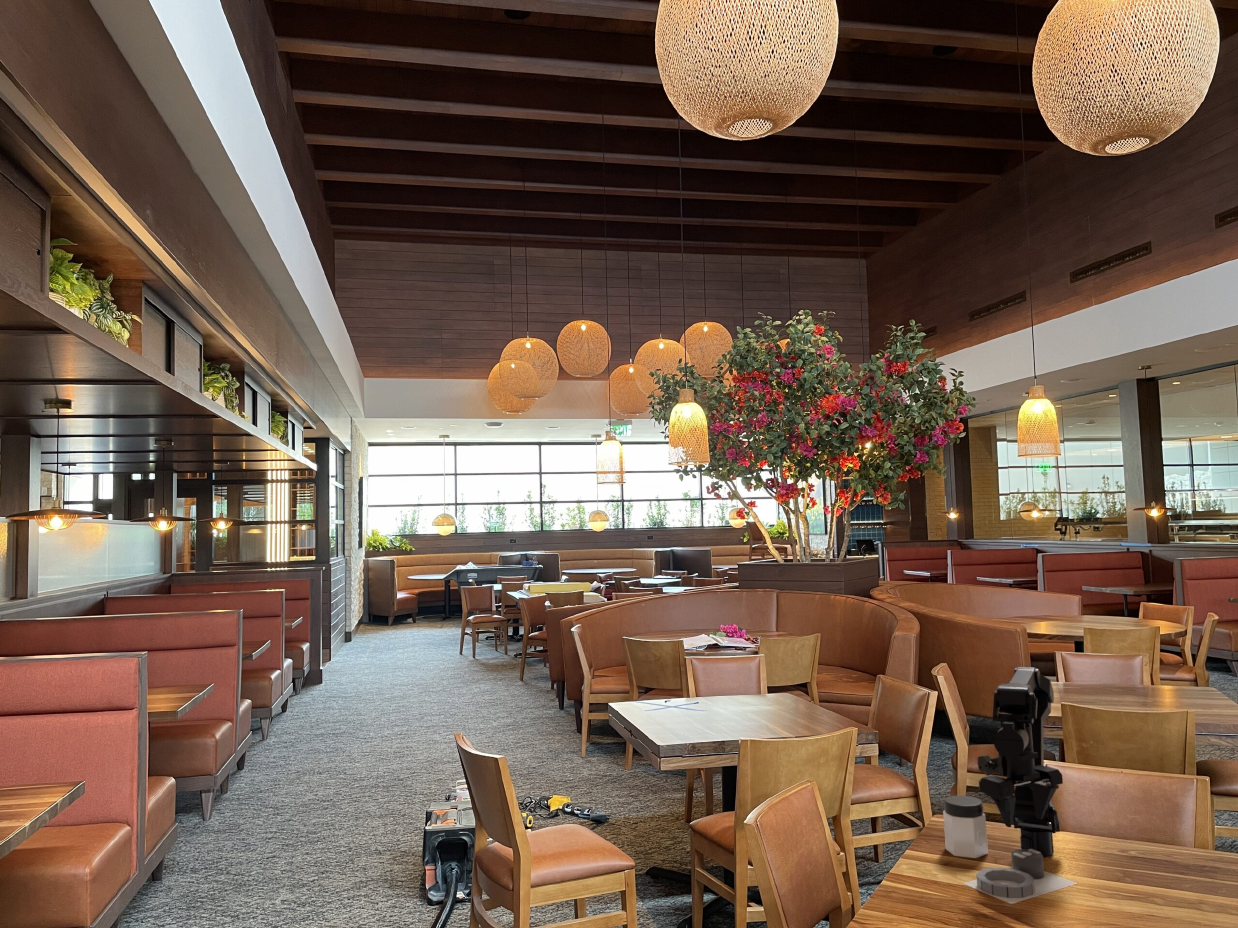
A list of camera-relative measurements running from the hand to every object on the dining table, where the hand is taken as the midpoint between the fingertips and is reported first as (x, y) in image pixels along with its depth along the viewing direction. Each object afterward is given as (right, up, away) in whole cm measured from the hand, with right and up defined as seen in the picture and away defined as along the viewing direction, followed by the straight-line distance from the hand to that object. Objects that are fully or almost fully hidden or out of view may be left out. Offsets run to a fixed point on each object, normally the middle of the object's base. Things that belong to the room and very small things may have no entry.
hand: (1024, 822), depth 188 cm
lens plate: (-3, -11, -6) cm, 13 cm away
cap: (+1, -10, -1) cm, 10 cm away
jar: (-7, -13, +14) cm, 20 cm away
